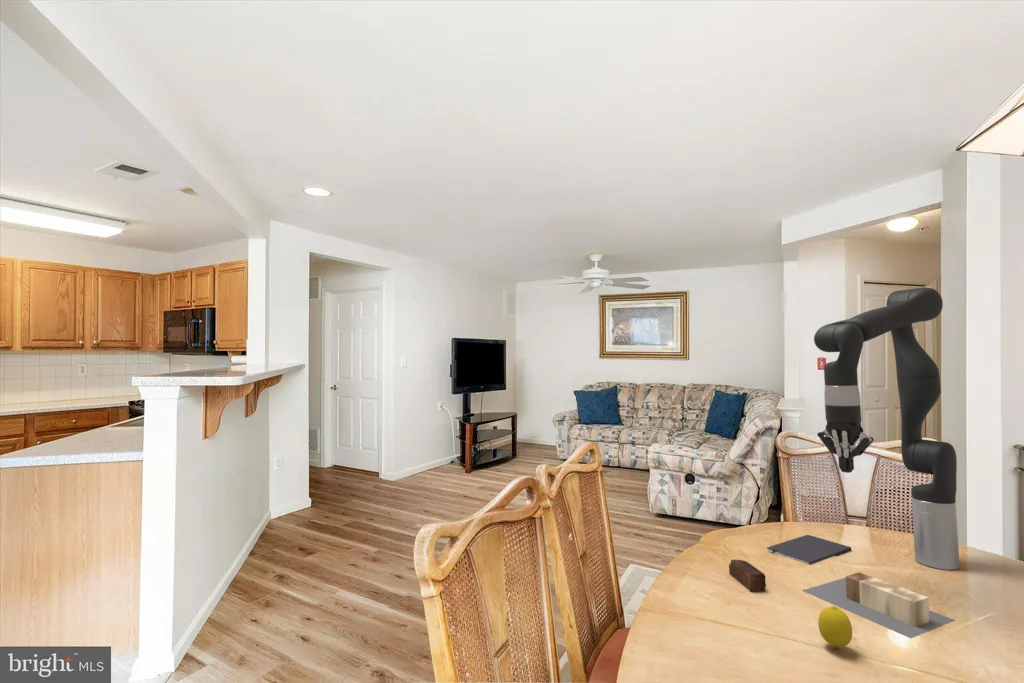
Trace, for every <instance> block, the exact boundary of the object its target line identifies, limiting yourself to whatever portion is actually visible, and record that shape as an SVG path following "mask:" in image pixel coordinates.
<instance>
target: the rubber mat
mask: <svg viewBox="0 0 1024 683" xmlns="http://www.w3.org/2000/svg"><path fill="white" fill-rule="evenodd" d="M802 592H804V593H807V594H809V595H812V596H814V597H816V598H818V599H820V600H823V601H825V602H827V603H829V604H831V605H833V606H836V607H837V608H838V607H839V609H840V608H841V609H843V610H845V611H848V612H850V613H851V614H854V615H856V616H859V617H861V618H863V619H866V620H868V621H869V622H870V621H871V622H872V623H874V624H877V625H880V626H881V627H884V628H887V629H889V630H891V631H894V632H896V633H897V634H900V635H902V636H905V637H907V638H909V639H913V638H914V637H918V636H920V635H923V634H926V633H928V632H930V631H932V630H935V629H937V628H939V627H942V626H944V625H948V624H949V623H952V622H955V621H956V619H953V618H950V617H949V616H945V615H943V614H939V613H938V612H935V611H933V610H930V609H929V619H930V622H928V623H925V624H922V625H920V626H917V627H914V626H912V625H910V624H907V623H905V622H902V621H900V620H898V619H895V618H893V617H890V616H888V615H886V614H883V613H881V612H878V611H876V610H874V609H871V608H869V607H866V606H864V605H862V604H859V603H857V602H854V601H852V600H850V599H847V595H846V577H843V578H840V579H836V580H832V581H829V582H826V583H822V584H819V585H815V586H813V587H809V588H805V589H802Z"/></svg>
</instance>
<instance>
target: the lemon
mask: <svg viewBox="0 0 1024 683" xmlns="http://www.w3.org/2000/svg"><path fill="white" fill-rule="evenodd" d="M818 616H819V617H818V622H817V624H818V629H819V633H820V635H821V637H822V638H823V639H824V641H825V642H826V643H828V644H829V645H831V646H832V647H833V649H835V650H838V649H840V648H843V647H845V648H846V646H848V645H849V644H850V643H851V641H852V638H853V626H852V622H851V620H850V618H849V616H848V615H847V614H846V613H845V611H843V610H842V609H840V608H838V606H836V605H831V606H827V607H824V608H823V609H822V610H821V611H820V613H819V615H818Z"/></svg>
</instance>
